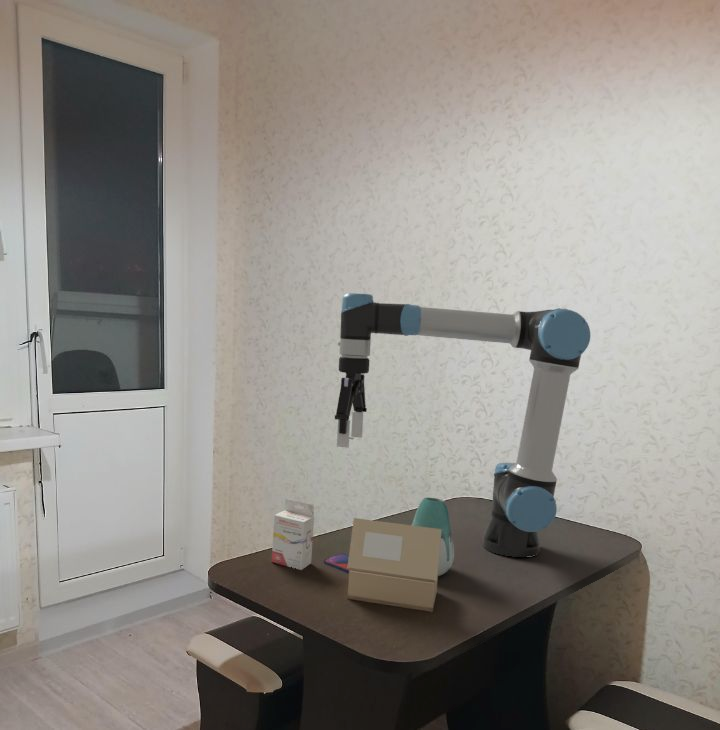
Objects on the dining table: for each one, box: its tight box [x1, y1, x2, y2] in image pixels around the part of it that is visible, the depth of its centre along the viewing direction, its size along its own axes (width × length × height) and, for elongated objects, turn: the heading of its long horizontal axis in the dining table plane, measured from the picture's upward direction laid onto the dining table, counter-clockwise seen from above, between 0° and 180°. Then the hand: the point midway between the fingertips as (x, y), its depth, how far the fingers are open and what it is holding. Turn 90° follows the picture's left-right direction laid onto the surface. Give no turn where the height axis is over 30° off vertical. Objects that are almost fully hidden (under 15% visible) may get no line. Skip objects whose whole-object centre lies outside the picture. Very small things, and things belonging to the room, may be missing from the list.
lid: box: [347, 517, 442, 583], centre depth 133 cm, size 19×11×1 cm
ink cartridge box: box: [271, 498, 315, 571], centre depth 150 cm, size 9×5×15 cm, turn 65°
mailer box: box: [347, 566, 439, 613], centre depth 137 cm, size 18×10×6 cm, turn 78°
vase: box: [411, 497, 455, 577], centre depth 151 cm, size 12×12×18 cm
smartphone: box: [323, 553, 349, 574], centre depth 151 cm, size 7×15×1 cm, turn 51°
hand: (349, 441), depth 157 cm, fingers open, 13 cm apart
